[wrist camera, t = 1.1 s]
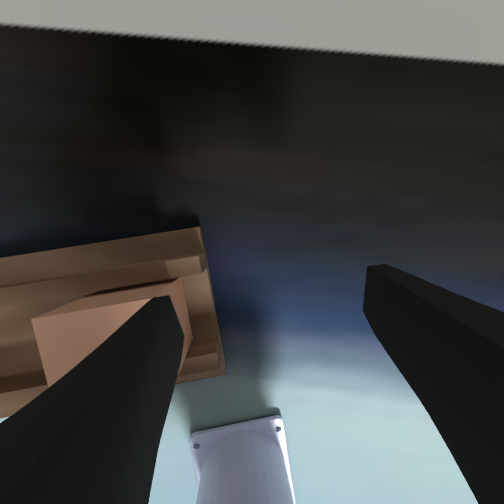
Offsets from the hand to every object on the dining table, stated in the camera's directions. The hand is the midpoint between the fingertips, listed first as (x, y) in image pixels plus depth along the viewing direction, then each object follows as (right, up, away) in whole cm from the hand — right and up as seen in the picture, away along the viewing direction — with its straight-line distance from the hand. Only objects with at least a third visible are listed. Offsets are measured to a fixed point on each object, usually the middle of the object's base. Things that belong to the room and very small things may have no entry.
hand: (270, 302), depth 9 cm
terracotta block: (-9, -3, +9) cm, 13 cm away
